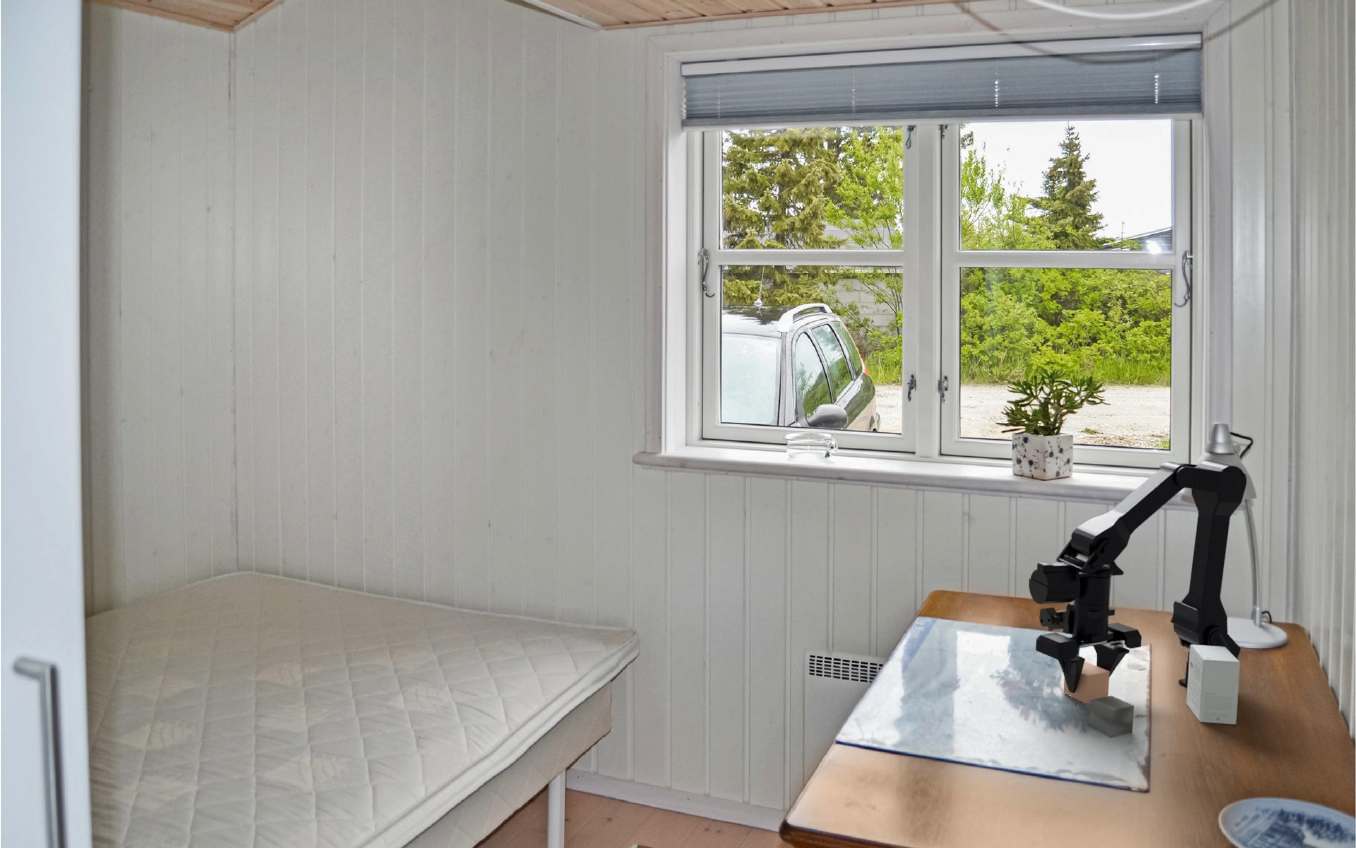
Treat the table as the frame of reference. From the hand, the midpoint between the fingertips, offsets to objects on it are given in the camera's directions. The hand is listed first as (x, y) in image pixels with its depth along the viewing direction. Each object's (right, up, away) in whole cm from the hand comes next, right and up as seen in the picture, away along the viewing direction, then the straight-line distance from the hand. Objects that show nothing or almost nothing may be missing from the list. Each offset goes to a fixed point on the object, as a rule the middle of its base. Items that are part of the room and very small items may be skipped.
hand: (1086, 689), depth 181 cm
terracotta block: (0, -1, 0) cm, 1 cm away
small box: (+18, -3, -7) cm, 19 cm away
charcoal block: (-1, -3, -14) cm, 14 cm away
